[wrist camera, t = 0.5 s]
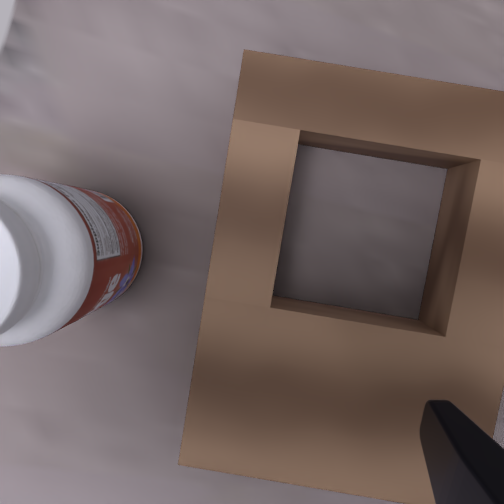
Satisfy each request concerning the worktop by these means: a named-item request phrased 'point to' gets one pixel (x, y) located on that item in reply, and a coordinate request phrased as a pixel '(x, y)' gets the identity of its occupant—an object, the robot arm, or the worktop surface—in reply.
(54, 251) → the pill bottle
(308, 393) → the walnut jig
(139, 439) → the worktop surface
